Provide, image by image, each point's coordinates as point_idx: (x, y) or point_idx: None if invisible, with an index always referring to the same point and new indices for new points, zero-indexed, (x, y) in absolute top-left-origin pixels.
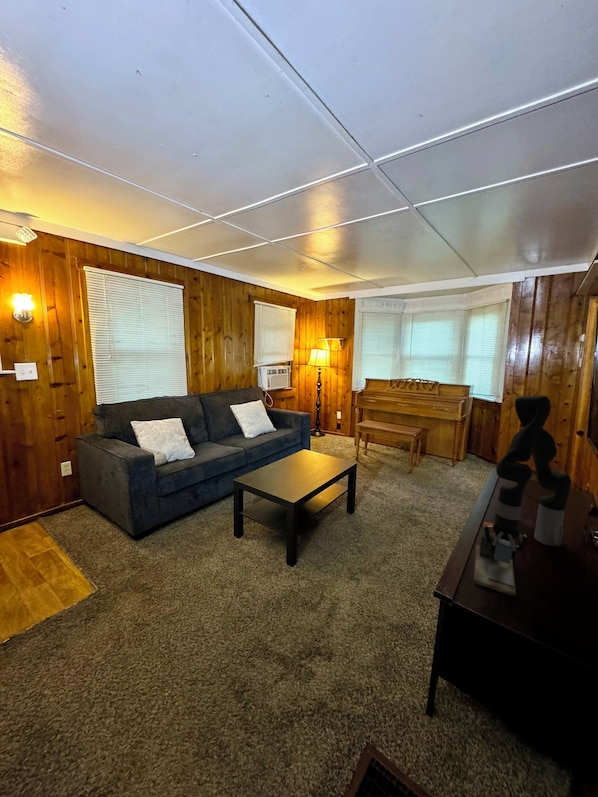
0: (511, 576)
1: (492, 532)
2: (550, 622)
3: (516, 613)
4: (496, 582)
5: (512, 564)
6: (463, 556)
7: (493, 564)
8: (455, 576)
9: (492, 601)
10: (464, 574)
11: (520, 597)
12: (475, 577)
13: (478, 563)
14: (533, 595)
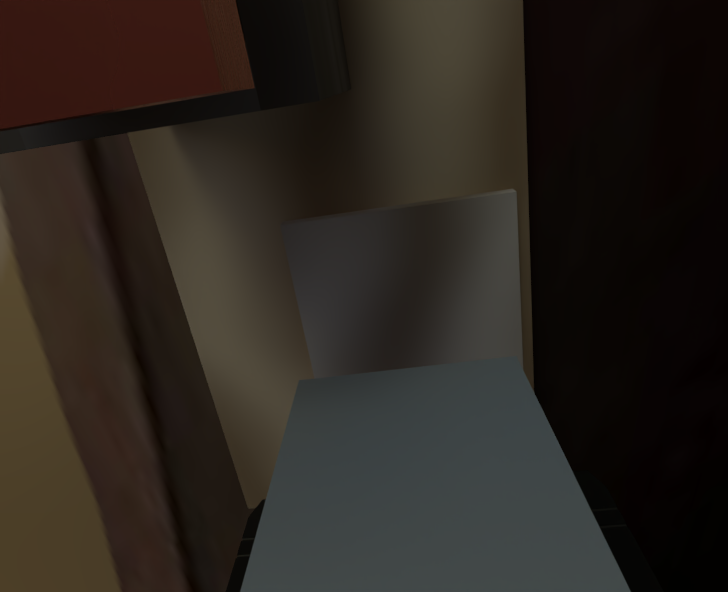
0: (509, 317)
1: (46, 122)
2: (714, 543)
3: None
4: None
5: (521, 34)
6: (50, 175)
7: (332, 227)
8: (134, 485)
9: None
10: (171, 429)
11: (561, 435)
12: (249, 486)
13: (206, 286)
14: (660, 356)
